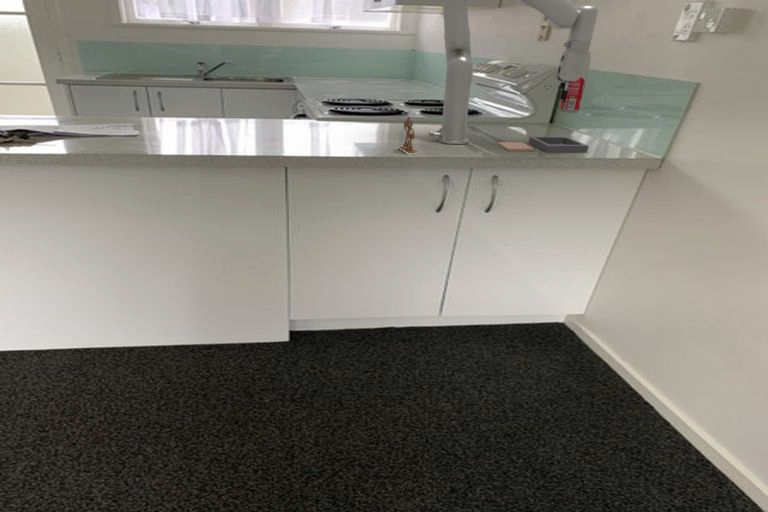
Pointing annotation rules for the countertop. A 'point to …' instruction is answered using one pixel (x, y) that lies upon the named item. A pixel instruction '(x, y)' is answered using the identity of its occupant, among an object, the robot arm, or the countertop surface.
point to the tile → (515, 146)
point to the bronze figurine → (406, 124)
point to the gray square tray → (569, 147)
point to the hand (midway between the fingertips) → (565, 101)
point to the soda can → (573, 96)
